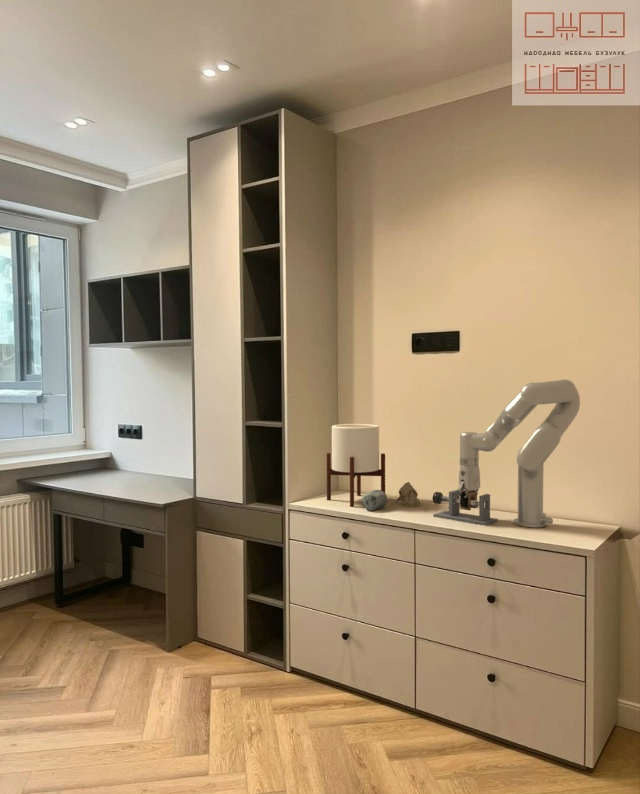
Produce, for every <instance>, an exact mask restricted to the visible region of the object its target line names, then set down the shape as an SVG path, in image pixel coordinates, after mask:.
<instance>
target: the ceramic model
mask: <svg viewBox="0 0 640 794" xmlns="http://www.w3.org/2000/svg"><path fill="white" fill-rule="evenodd" d="M397 493H398V495H399V497H397V498H396V500H395V503H396V504H398V505H400V506H403V507H415V506H420V501H419V498H418V495H419V494H418V492H417V490H416V489H415V488H414V486H413V485H412V484H411V482H410V481H407V482H404V484H403V485H402V486H401V487H400V488H399V490H398V492H397Z"/></svg>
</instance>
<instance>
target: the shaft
mask: <svg viewBox="0 0 640 794" xmlns="http://www.w3.org/2000/svg"><path fill="white" fill-rule="evenodd" d="M432 502H433V503H434V504H435V505H440V504H442V503H449V496H447V495H446V496H445V495H444V494H443V493H442V492H440V491H435V492H434V493H433V495H432ZM454 503H455V504H460V498H455V497H454ZM471 506H474V507H477V508H479V500H477V501H474V500H471Z"/></svg>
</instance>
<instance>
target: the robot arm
mask: <svg viewBox="0 0 640 794" xmlns="http://www.w3.org/2000/svg"><path fill="white" fill-rule="evenodd" d="M548 404H555V405H554V407H553V409H552V410H551V411H550V413H549V414H548V415H547V416H546V418H545V419H544V420H543V421H542V423H540V425H539V426H537V427H536V429H535V431H534V432H533V433H532V435H531V436H530V437H529V439H528V440H527V441H526V442H525V444H524V445H523V446H521V448H520V449H519V450H518V453H517V456H516V464H517V518H514V519H513V525H515V526H519V527H523V528H545V527H547V526H548V524H553V522H554V520H553V518H552V517H547V515H546V513H544V467H545V465H544V464H545V463H546V461H547V459H548V458H549V457H550V456H551V454H552V453H553V452H554V451H555V450H556V448H557V447H558V445H559V444H560V442H561V438H562V436H563V434H564V433H565V432H566V431H567V430H568V428H569V427H570V426H571V424H572V422H573V421H574V419H576V417H577V414H578V413H579V410H580V406H581V398H580V394H579V391H578V389H577V386H576V385H575V384H574V382H573V381H572V380H570V379H559V380H549V381H540V382H529V383H527V384H525V385H524V386H523V387H522V388H521V390H520V391H519V392H518V393H517V394H516V395H515V396H514V397H513V398H512V399H511V400H510V401H509V403H508V404H507V405H506V406H505V407H504V408H503V409H502V411H501V412H500V414H499V416H498V417H497V418H496V420H494V422H493V423H492V424H491V425H490V426H489V427H488V428H487V430H486V431H484V433H477V432H474V431H463V432H461V433H460V435H459V471H458V472H459V473H458V487H457V490H458V492H459V494H460V506H461V507H466V508H467V507H468V498H467V495H468V491H473V490H474V491H477V496H478V493H479V490H480V488H481V470H480V465H479V461H480V460H479V458H480V456H479V455H480V453H479V451H483V452H493V451H494V450H495V449H497V447H498V446H499V445H500V444H501V442H502V441H504V439H506V437H507V436H508V435H509V434H510V433H511V432H513V430H514V429H516V428H517V427H518V426H519V425H520V424H522V422H524V420H525V419H526V418H527V417H528V416H529V415H530V414H531V412H533V410H534V409H536V407H537V406H538V405H548ZM463 491H464V492H465V493H464V492H463Z"/></svg>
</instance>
